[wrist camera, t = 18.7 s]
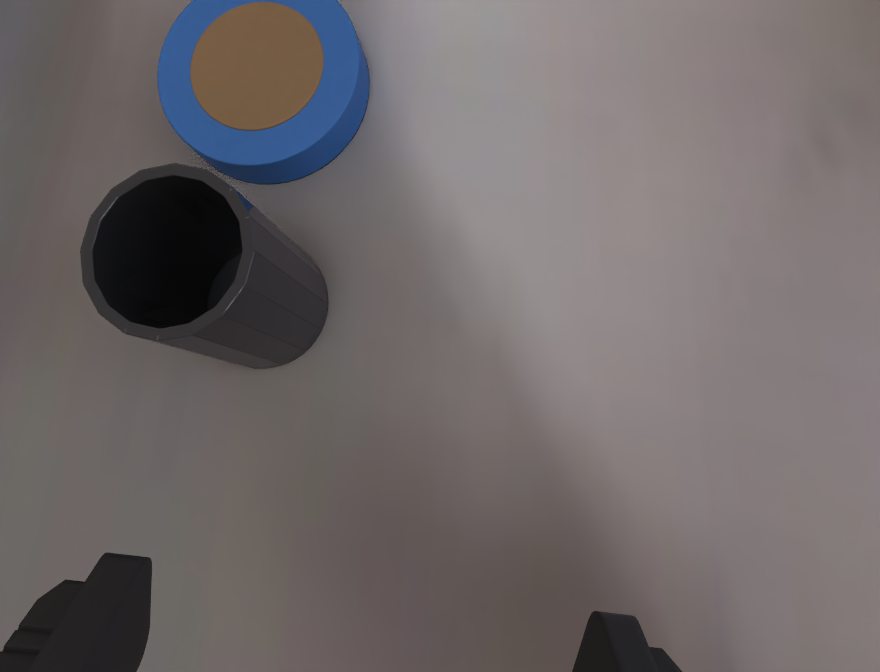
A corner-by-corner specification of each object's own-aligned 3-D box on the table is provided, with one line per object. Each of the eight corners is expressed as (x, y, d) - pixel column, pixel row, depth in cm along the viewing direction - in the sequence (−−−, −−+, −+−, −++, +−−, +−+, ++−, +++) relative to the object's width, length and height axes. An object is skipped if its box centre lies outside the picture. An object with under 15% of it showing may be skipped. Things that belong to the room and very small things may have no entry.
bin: (254, 218, 35) (153, 131, 25) (353, 288, 34) (288, 226, 24) (178, 320, 34) (46, 273, 25) (276, 394, 33) (178, 375, 24)
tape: (257, -32, 37) (238, -67, 34) (408, 63, 35) (400, 33, 33) (143, 118, 36) (115, 94, 34) (291, 221, 35) (273, 204, 32)
